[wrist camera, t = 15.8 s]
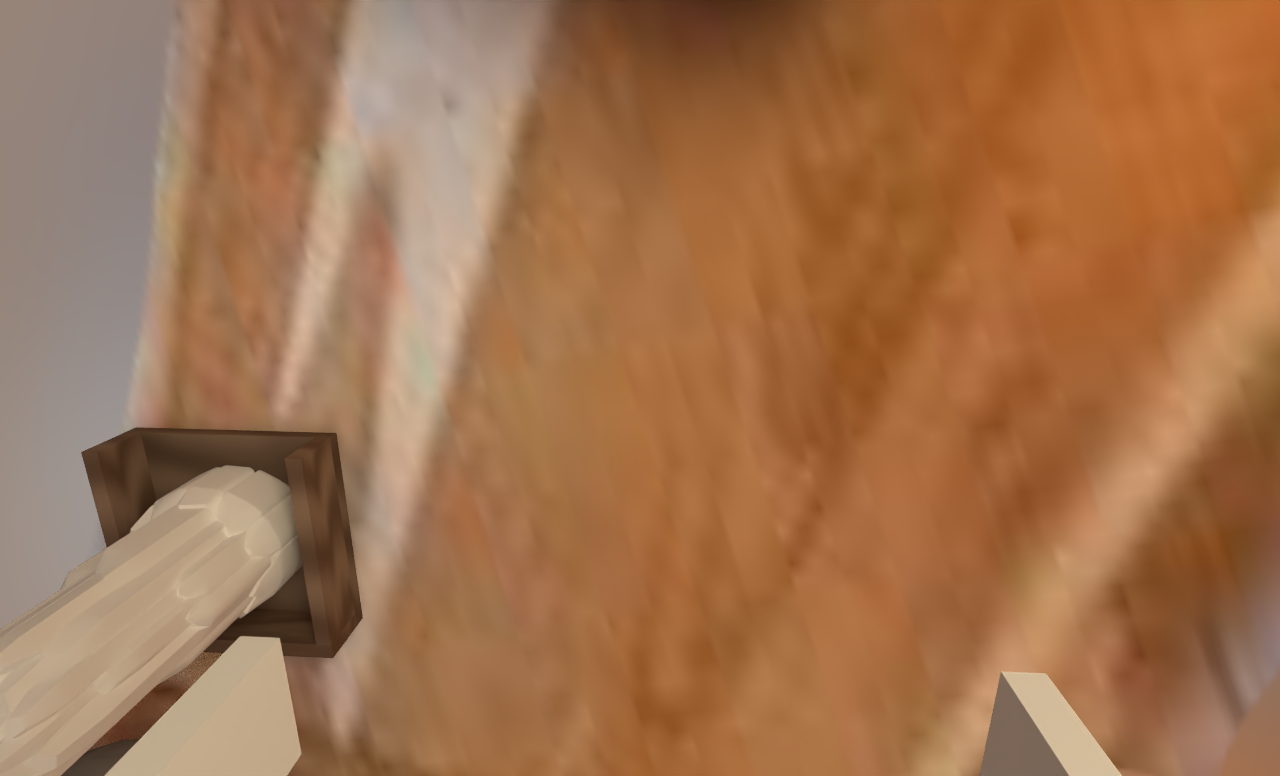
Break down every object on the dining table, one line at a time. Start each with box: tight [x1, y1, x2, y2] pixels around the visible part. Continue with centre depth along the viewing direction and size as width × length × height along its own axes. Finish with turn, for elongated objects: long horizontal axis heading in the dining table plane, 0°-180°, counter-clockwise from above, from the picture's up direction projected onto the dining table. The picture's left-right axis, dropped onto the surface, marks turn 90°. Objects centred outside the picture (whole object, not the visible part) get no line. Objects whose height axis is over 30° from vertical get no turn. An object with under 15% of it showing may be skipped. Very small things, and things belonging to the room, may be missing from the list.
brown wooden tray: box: [82, 428, 362, 658], centre depth 52 cm, size 17×16×5 cm
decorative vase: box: [0, 465, 302, 776], centre depth 41 cm, size 11×11×25 cm
